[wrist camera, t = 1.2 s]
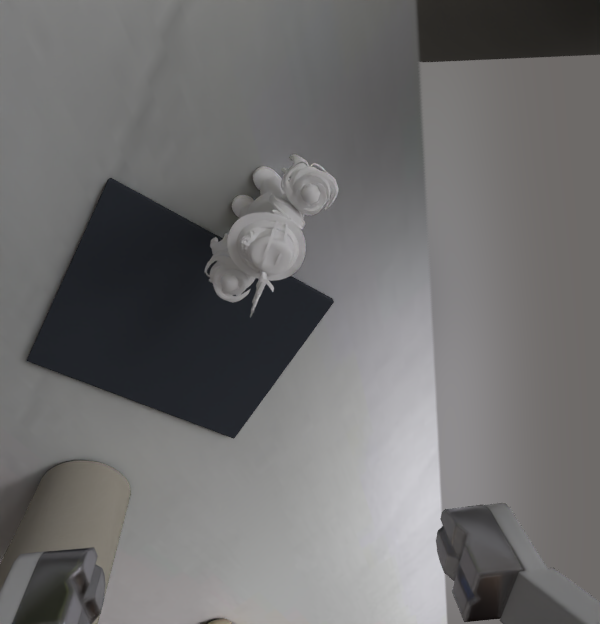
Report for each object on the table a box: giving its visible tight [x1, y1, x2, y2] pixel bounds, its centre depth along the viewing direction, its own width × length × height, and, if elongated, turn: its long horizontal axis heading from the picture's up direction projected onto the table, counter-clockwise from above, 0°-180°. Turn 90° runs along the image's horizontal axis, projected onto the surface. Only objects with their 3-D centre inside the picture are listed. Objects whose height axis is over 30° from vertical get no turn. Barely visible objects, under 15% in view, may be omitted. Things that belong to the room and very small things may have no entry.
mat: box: [27, 178, 334, 438], centre depth 35 cm, size 16×18×1 cm
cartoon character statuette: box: [204, 154, 339, 317], centre depth 26 cm, size 9×4×12 cm, turn 137°
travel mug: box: [0, 460, 131, 624], centre depth 34 cm, size 8×8×18 cm
